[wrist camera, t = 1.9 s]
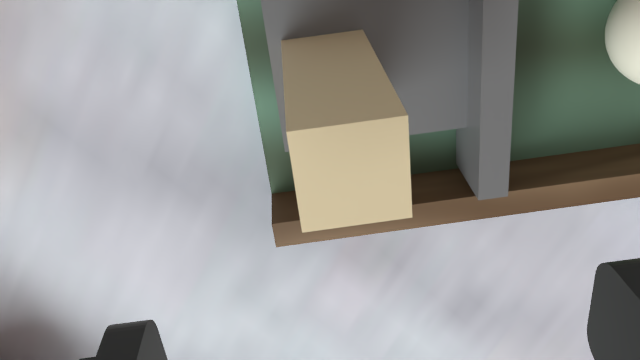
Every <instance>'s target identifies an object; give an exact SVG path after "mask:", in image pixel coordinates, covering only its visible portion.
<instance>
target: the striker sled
mask: <svg viewBox="0 0 640 360" xmlns="http://www.w3.org/2000/svg"><path fill="white" fill-rule="evenodd" d="M518 3H519V0H261V6H262V13H263V19H264V25H265V31H266V37H267V44H268V50H269V56H270V62H271V68H272V74H273V81H274V87H275V93H276V99H277V105H278V112H279V118H280V124H281V130H282V136H283V143H284V149H285V152H289V153H290V159H291V165H292V172H293V178H294V184H295V191H296V197H297V204H298V210H299V216H300V223H301V229H302V233H304V232H311V231H318V230H326V229H333V228H340V227H348V226H355V225H362V224H369V223H377V222H384V221H391V220H398V219H406V218H412V195H411V171H410V147H409V135H414V134H422V133H429V132H437V131H444V130H451V129H456V164H457V166H458V167H459V169H460V171H461V172H462V174H463V176H464V177H465V179H466V181H467V182H468V184H469V186H470V187H471V189H472V191H473V192H474V194H475V196H476V197H477V199H478V200H485V199H492V198H499V197H507V196H508V187H509V169H510V150H511V132H512V114H513V95H514V77H515V58H516V40H517V22H518Z"/></svg>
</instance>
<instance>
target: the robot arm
mask: <svg viewBox="0 0 640 360" xmlns="http://www.w3.org/2000/svg"><path fill="white" fill-rule="evenodd" d="M587 336H588V342H589V346H590V349H591V352H592V355H593V357H594V359H595V360H640V258H638V259H630V260H622V261H615V262H607V263H602V264H600V265H599V266H598V267H597V270H596V274H595V280H594V286H593V293H592V299H591V305H590V312H589V318H588V324H587ZM79 360H167V357H166V354H165V350H164V347H163V344H162V341H161V338H160V335H159V332H158V329H157V326H156V324H155V322H154V321H153V320H145V321H137V322H130V323H122V324H114V325H110V326H108V327H107V329H106V330H105V333H104V335H103V338H102V341H101V344H100V347H99V349H98V352H97V355H96V357H91V358H83V359H79Z"/></svg>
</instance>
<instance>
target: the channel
mask: <svg viewBox="0 0 640 360" xmlns="http://www.w3.org/2000/svg"><path fill="white" fill-rule="evenodd" d="M616 1H617V0H519V3H518V22H517V40H516V58H515V77H514V95H513V114H512V132H511V150H510V169H509V187H508V196H507V197H499V198H492V199H485V200H478V199H477V197H476V196H475V194H474V192H473V191H472V189H471V187H470V186H469V184H468V182H467V181H466V179H465V177H464V176H463V174H462V172H461V171H460V169H459V167H458V166H457V164H456V129H451V130H444V131H437V132H429V133H422V134H414V135H409V147H410V171H411V195H412V218H406V219H398V220H391V221H384V222H377V223H369V224H362V225H355V226H348V227H340V228H333V229H326V230H318V231H311V232H304V233H302V229H301V223H300V216H299V210H298V204H297V197H296V191H295V184H294V178H293V172H292V165H291V159H290V153H289V152H285V149H284V143H283V136H282V130H281V124H280V118H279V112H278V105H277V99H276V93H275V87H274V81H273V74H272V68H271V62H270V56H269V50H268V44H267V37H266V31H265V25H264V19H263V13H262V6H261V0H237V5H238V10H239V16H240V21H241V27H242V33H243V38H244V44H245V49H246V55H247V60H248V66H249V71H250V77H251V82H252V88H253V93H254V99H255V104H256V110H257V115H258V121H259V126H260V132H261V137H262V143H263V148H264V154H265V159H266V165H267V170H268V176H269V181H270V187H271V192H272V227H273V233H274V238H275V243H276V247H281V246H288V245H295V244H303V243H310V242H317V241H325V240H332V239H339V238H346V237H354V236H361V235H368V234H375V233H383V232H390V231H397V230H404V229H412V228H419V227H426V226H433V225H441V224H448V223H455V222H463V221H470V220H477V219H484V218H492V217H499V216H506V215H513V214H521V213H528V212H535V211H542V210H550V209H557V208H564V207H571V206H579V205H586V204H593V203H601V202H608V201H615V200H622V199H630V198H637V197H640V84H637V83H635V82H633V81H631V80H629V79H628V78H626V77H625V76H624V75H623V74H622V73H620V72H619V71H618V69H617V68H616V67H615V66H614V65H613V63H612V61H611V60H610V57H609V55H608V52H607V50H606V45H605V27H606V22H607V19H608V16H609V14H610V11H611V9H612V7H613V6H614V4H615V2H616Z"/></svg>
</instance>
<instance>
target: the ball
mask: <svg viewBox="0 0 640 360" xmlns="http://www.w3.org/2000/svg"><path fill="white" fill-rule="evenodd" d="M605 45H606V50H607V52H608V55H609V57H610V60H611V61H612V63H613V65H614V66H615V67H616V68H617V69H618V71H619V72H620V73H622V74H623V75H624V76H625V77H626V78H628V79H629V80H631V81H633V82H635V83H637V84H640V0H617V1H616V2H615V4H614V6H613V7H612V9H611V11H610V14H609V16H608V19H607V22H606V27H605Z"/></svg>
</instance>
